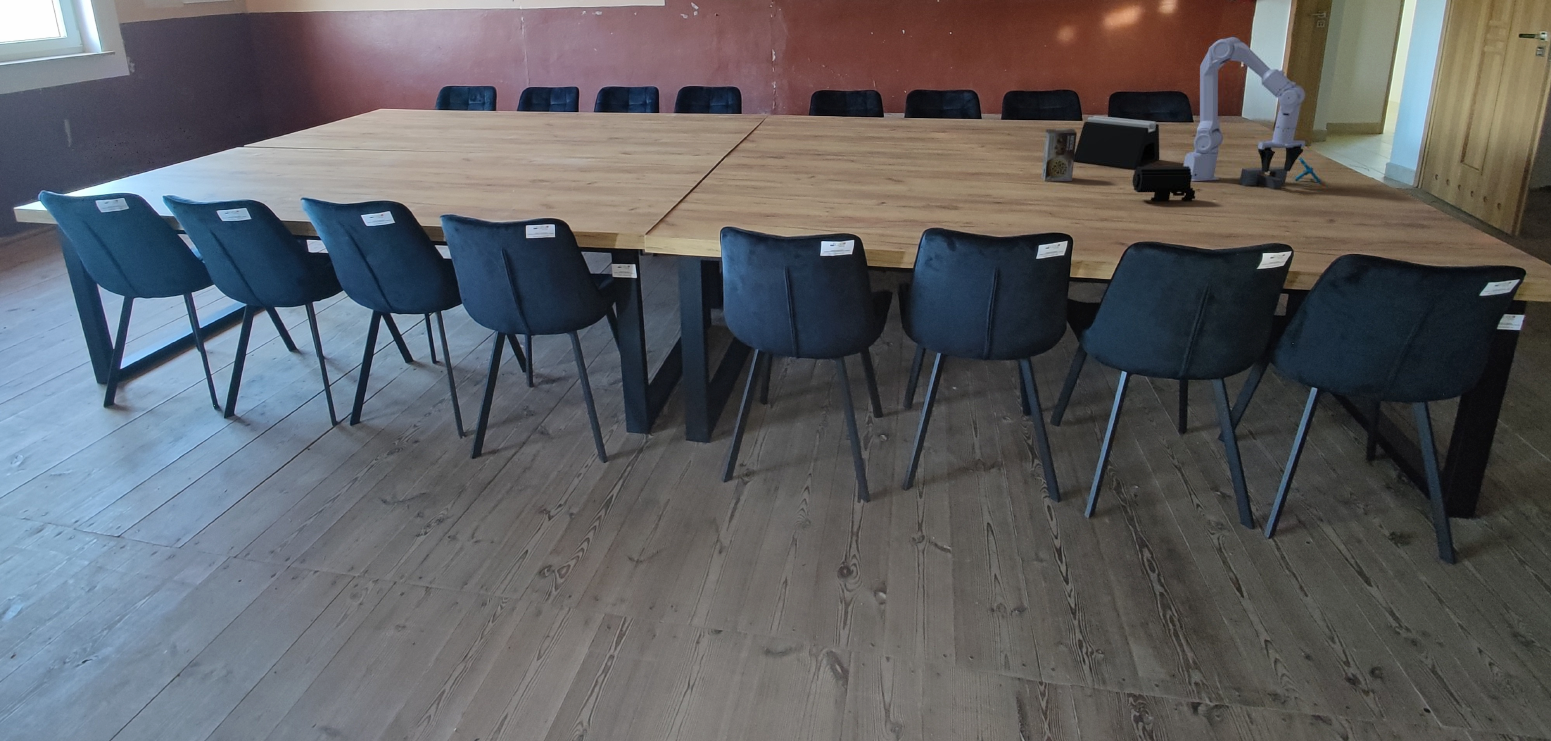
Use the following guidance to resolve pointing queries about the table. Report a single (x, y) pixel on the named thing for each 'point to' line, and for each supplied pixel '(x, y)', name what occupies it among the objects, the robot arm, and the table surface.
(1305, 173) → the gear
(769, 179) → the table surface
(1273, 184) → the plug
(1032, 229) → the table surface
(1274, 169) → the housing
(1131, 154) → the device stand
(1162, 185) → the security camera
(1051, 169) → the coffee box
